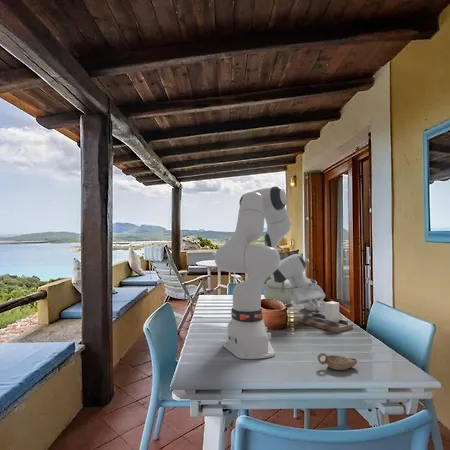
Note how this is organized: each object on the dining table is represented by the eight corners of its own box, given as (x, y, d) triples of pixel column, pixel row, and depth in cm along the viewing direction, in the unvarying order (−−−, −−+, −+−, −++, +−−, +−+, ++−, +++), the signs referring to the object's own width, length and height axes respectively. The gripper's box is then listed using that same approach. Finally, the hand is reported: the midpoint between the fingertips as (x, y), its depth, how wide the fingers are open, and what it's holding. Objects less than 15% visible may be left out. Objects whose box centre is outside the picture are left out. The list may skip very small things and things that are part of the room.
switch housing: (298, 321, 170) (298, 314, 170) (314, 318, 177) (314, 311, 177) (336, 332, 152) (336, 324, 152) (352, 328, 159) (352, 320, 159)
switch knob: (325, 321, 161) (325, 302, 161) (332, 320, 164) (332, 301, 164) (332, 323, 158) (332, 304, 158) (339, 321, 161) (339, 302, 161)
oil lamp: (353, 364, 118) (353, 349, 118) (362, 373, 110) (362, 357, 110) (314, 363, 118) (314, 349, 118) (320, 373, 110) (320, 357, 110)
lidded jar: (303, 306, 203) (303, 290, 203) (322, 308, 199) (322, 292, 199) (299, 310, 193) (299, 293, 193) (319, 312, 189) (319, 295, 189)
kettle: (298, 307, 201) (298, 264, 201) (267, 307, 200) (267, 264, 200) (287, 298, 226) (288, 260, 226) (260, 298, 225) (260, 260, 225)
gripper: (290, 283, 168) (305, 307, 160) (318, 280, 180) (333, 302, 172) (283, 291, 172) (298, 315, 164) (311, 287, 184) (326, 309, 176)
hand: (316, 308), depth 168 cm, fingers closed
